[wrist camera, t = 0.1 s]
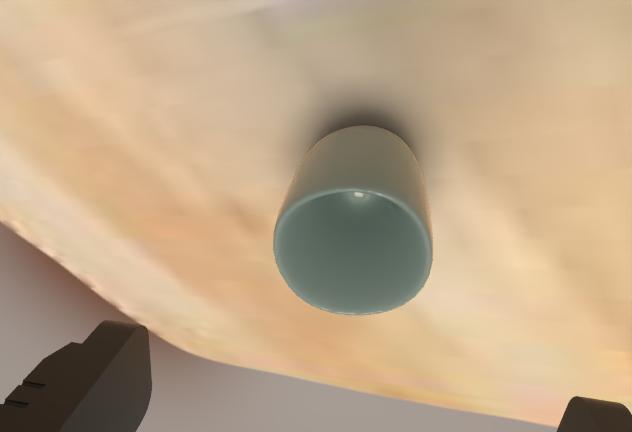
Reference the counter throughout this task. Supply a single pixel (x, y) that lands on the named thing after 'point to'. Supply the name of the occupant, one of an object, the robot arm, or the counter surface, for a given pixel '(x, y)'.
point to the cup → (356, 224)
